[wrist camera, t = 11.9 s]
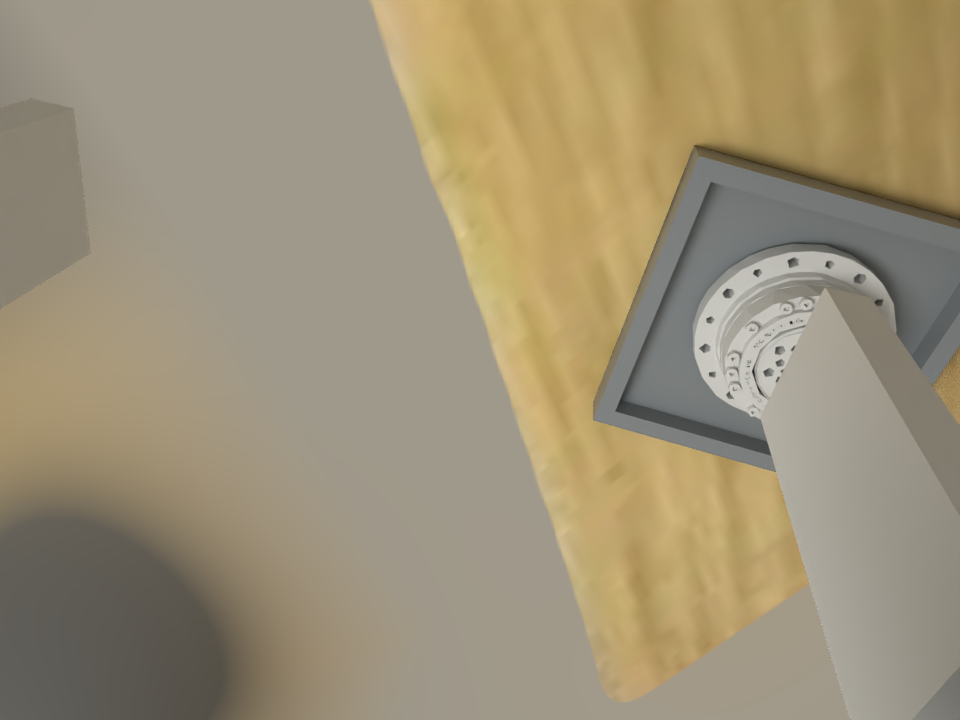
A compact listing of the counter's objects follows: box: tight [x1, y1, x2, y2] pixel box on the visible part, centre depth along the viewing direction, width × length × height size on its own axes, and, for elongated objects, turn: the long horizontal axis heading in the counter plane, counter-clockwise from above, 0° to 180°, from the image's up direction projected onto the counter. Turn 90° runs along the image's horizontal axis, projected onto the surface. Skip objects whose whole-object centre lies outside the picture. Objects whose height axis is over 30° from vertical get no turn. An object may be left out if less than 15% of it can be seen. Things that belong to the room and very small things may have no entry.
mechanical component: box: [693, 244, 896, 419], centre depth 37 cm, size 10×4×10 cm
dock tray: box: [593, 146, 960, 472], centre depth 39 cm, size 16×16×2 cm
